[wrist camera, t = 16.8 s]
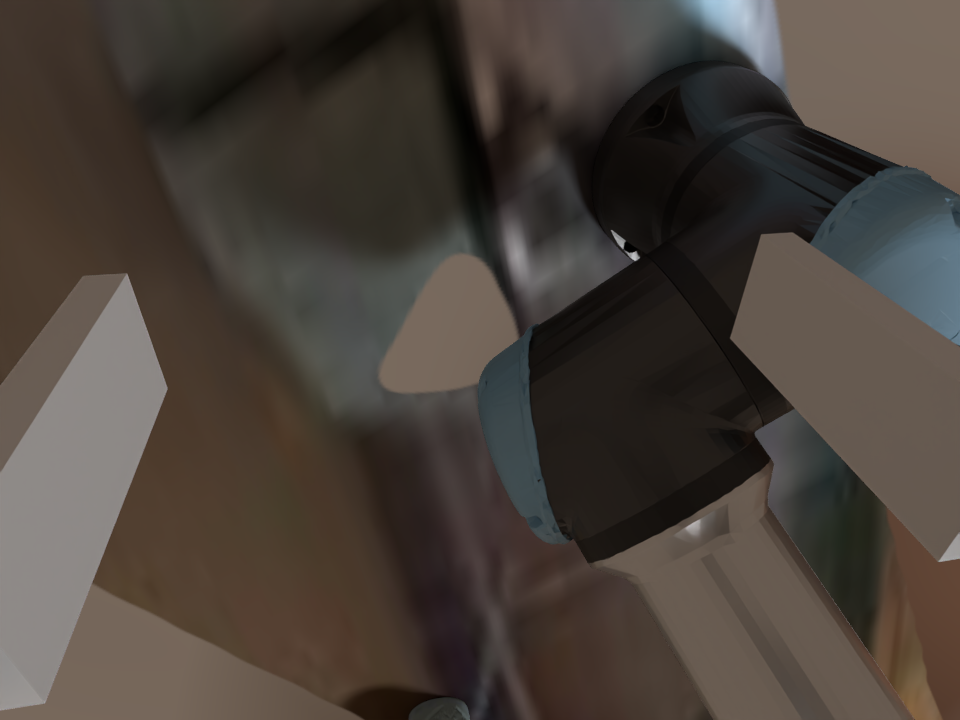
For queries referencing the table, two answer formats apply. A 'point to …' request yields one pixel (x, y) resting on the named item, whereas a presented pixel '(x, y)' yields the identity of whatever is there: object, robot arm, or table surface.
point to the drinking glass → (440, 710)
